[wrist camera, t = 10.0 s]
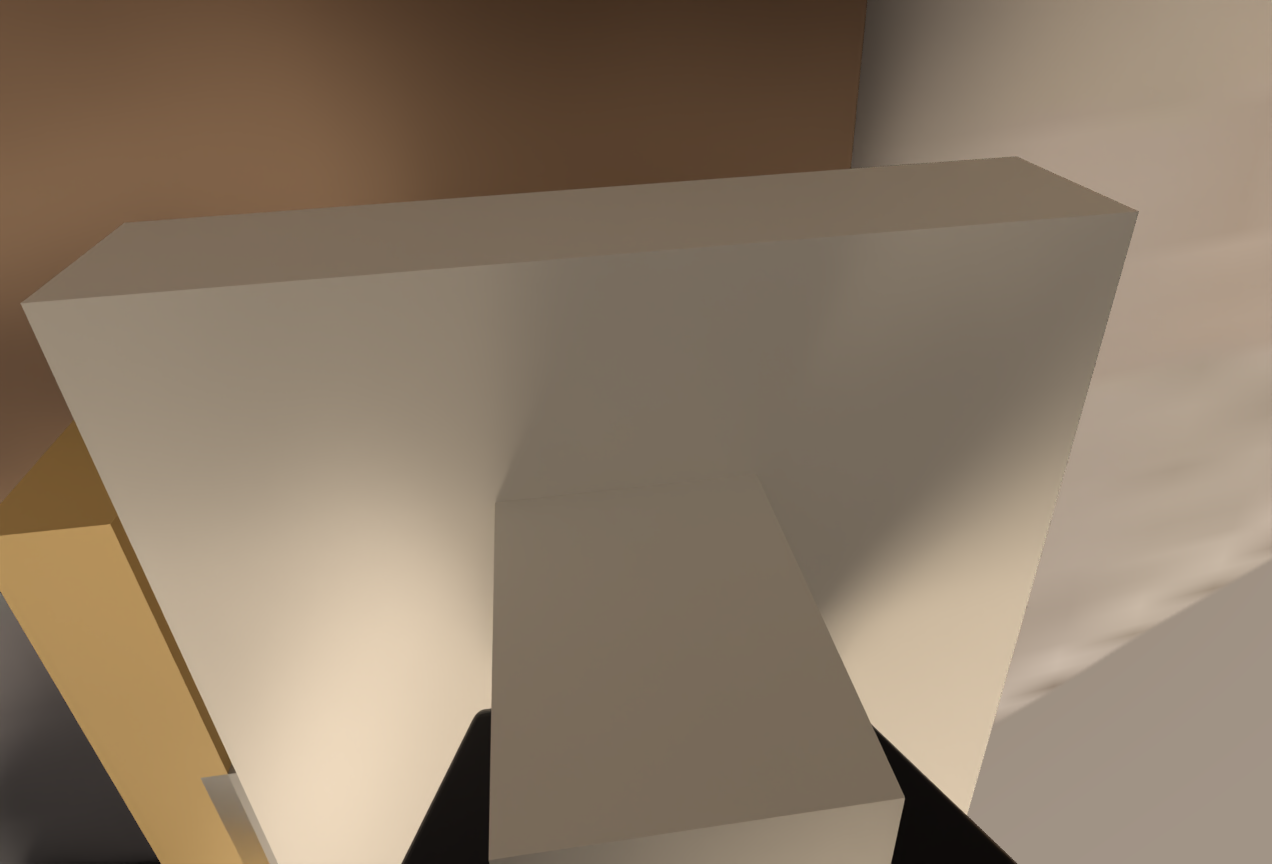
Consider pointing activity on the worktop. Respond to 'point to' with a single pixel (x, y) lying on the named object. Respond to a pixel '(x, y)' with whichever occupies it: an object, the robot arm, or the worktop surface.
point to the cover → (599, 493)
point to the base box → (378, 118)
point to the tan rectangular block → (120, 662)
